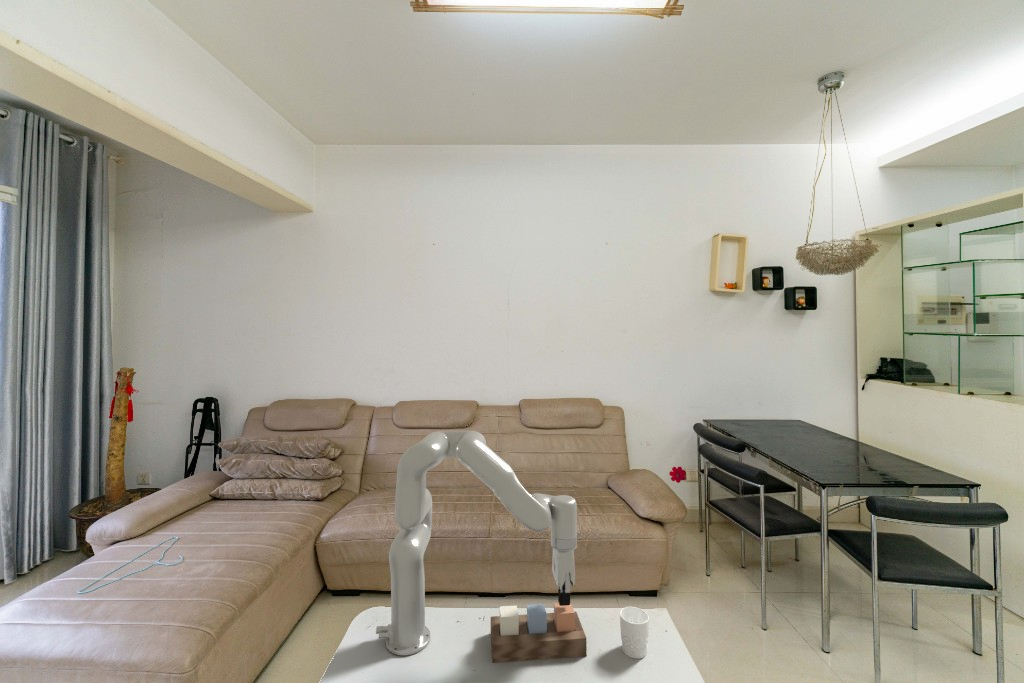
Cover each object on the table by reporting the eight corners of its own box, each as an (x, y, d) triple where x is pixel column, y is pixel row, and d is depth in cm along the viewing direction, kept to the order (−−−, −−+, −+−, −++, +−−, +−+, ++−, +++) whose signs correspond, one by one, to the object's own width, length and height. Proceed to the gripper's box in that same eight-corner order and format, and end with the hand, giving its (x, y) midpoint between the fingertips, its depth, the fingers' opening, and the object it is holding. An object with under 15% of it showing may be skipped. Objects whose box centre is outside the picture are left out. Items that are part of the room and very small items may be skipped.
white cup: (650, 645, 125) (650, 610, 125) (646, 664, 118) (646, 627, 118) (622, 637, 128) (622, 603, 128) (617, 655, 121) (617, 619, 121)
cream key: (500, 638, 122) (500, 617, 122) (499, 627, 127) (499, 606, 127) (518, 637, 123) (518, 616, 123) (516, 626, 128) (516, 605, 128)
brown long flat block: (492, 662, 118) (492, 644, 118) (490, 633, 130) (490, 616, 130) (586, 656, 121) (586, 638, 121) (576, 627, 133) (576, 611, 133)
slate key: (529, 636, 123) (529, 615, 123) (527, 625, 128) (526, 604, 128) (546, 635, 123) (546, 614, 123) (543, 624, 128) (543, 603, 128)
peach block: (557, 635, 124) (557, 613, 124) (554, 623, 129) (553, 603, 129) (574, 633, 124) (574, 612, 124) (570, 622, 129) (570, 602, 129)
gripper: (546, 529, 133) (547, 589, 133) (556, 553, 119) (556, 621, 119) (570, 528, 134) (571, 588, 134) (583, 552, 119) (583, 619, 119)
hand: (564, 603), depth 126 cm, fingers closed
